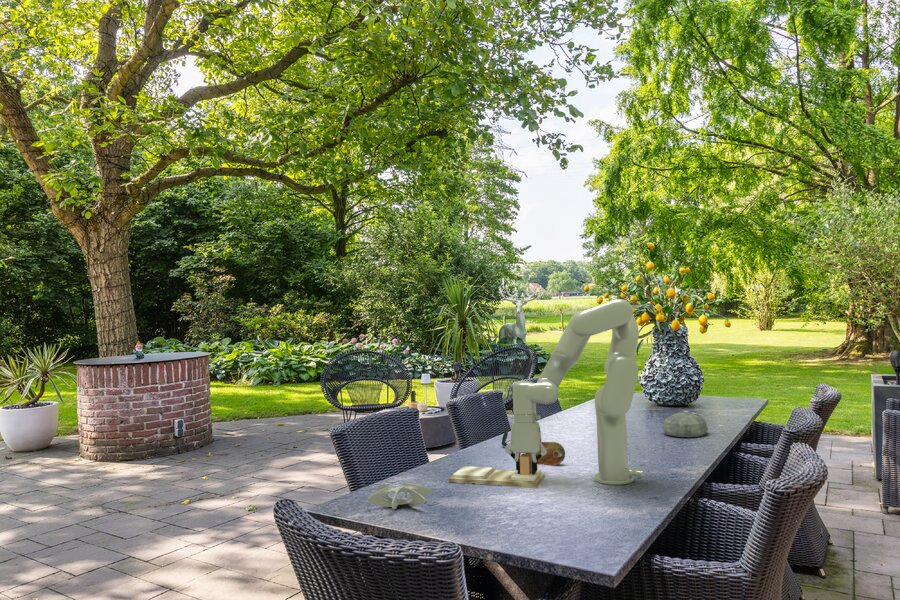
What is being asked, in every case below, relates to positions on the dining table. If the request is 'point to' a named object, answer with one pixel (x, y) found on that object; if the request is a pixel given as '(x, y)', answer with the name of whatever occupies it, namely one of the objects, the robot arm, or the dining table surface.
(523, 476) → the stub
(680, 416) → the decorative stone
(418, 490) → the sculpture
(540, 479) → the ticket pad
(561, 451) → the tin
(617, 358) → the robot arm
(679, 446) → the dining table surface
